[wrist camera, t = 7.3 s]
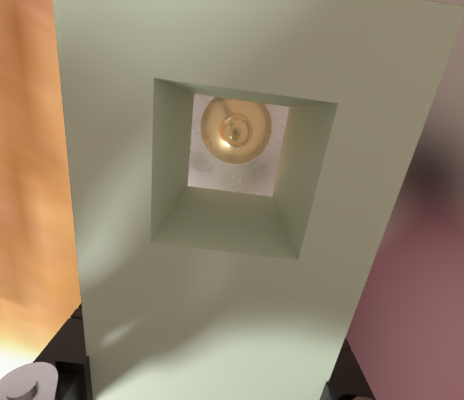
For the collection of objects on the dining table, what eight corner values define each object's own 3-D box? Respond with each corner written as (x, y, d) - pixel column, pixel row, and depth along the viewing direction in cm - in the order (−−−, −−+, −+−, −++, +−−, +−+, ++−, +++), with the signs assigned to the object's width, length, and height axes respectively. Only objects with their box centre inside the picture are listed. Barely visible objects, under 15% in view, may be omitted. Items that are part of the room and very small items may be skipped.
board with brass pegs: (158, 19, 16) (111, -34, 10) (335, 44, 17) (392, 8, 11) (151, 305, 25) (124, 370, 19) (271, 319, 25) (283, 386, 19)
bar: (146, 31, 7) (47, -57, 3) (349, 60, 7) (468, 6, 4) (142, 424, 13) (104, 549, 9) (254, 436, 13) (261, 563, 10)
